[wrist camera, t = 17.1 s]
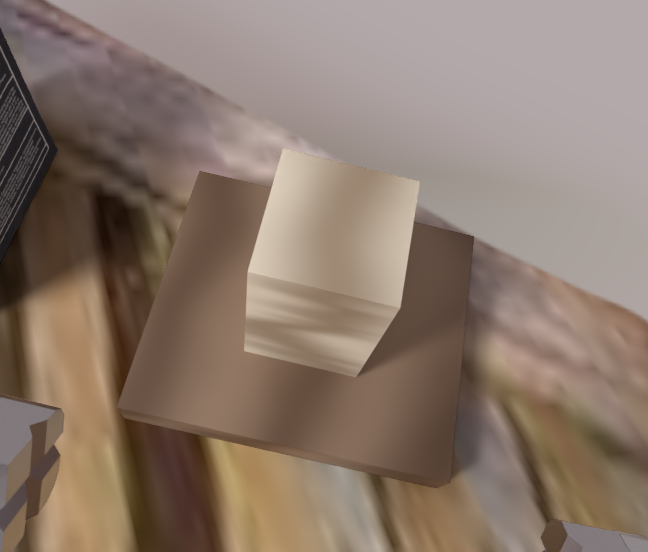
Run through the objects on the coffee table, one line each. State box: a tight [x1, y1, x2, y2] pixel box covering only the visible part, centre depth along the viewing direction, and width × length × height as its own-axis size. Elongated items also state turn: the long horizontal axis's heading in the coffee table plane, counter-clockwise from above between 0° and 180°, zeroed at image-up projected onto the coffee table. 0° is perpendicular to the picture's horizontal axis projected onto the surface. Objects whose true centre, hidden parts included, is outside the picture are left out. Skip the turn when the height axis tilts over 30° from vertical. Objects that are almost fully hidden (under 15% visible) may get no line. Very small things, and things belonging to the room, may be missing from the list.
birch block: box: [244, 148, 420, 377], centre depth 24 cm, size 5×5×8 cm
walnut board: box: [117, 171, 474, 488], centre depth 29 cm, size 14×12×2 cm
